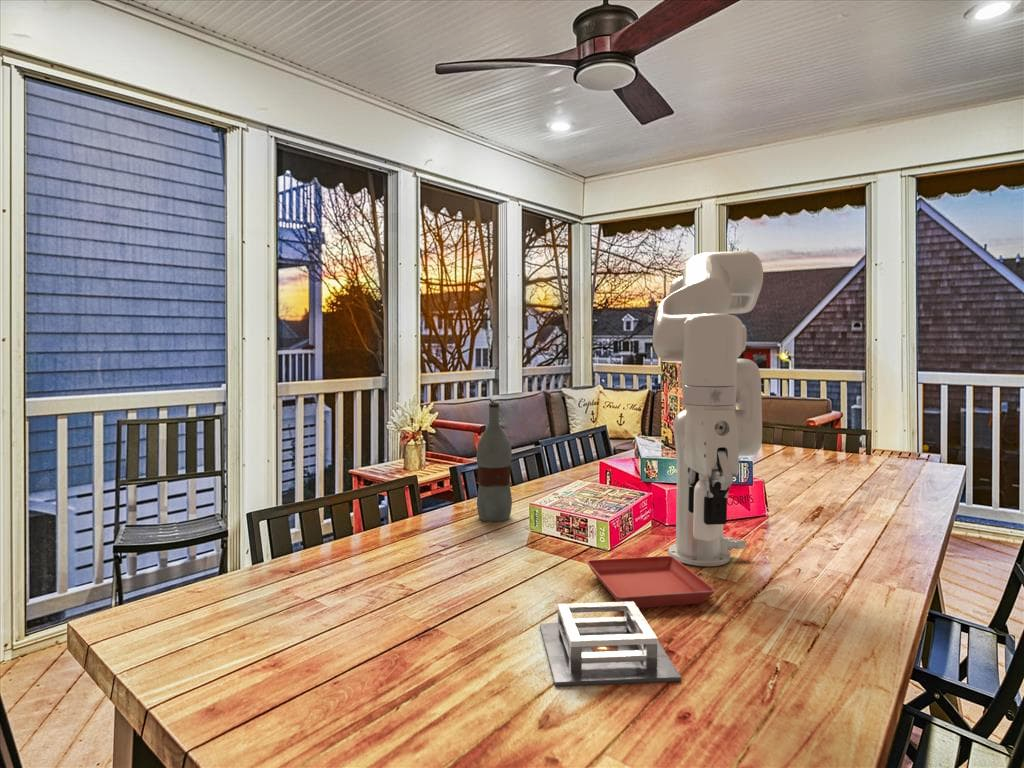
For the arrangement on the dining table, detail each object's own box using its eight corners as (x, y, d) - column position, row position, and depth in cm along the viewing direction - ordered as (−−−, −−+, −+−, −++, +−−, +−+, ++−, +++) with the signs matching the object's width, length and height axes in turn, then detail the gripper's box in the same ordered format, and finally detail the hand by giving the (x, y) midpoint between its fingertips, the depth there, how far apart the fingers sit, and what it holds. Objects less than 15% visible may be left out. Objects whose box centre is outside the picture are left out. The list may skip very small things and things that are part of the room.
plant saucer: (671, 570, 122) (671, 554, 122) (717, 608, 105) (717, 589, 104) (585, 576, 119) (585, 559, 119) (617, 617, 101) (617, 597, 101)
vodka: (496, 510, 165) (496, 400, 163) (519, 517, 159) (519, 403, 157) (469, 517, 159) (468, 403, 157) (492, 524, 152) (491, 405, 150)
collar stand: (644, 623, 98) (644, 594, 98) (681, 681, 81) (681, 646, 81) (539, 627, 97) (539, 597, 97) (555, 686, 80) (555, 651, 80)
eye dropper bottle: (681, 534, 92) (683, 456, 91) (709, 529, 95) (710, 453, 94) (703, 543, 88) (704, 461, 87) (731, 537, 91) (732, 457, 90)
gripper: (761, 403, 82) (758, 535, 83) (710, 392, 99) (708, 502, 100) (707, 403, 81) (704, 536, 82) (665, 392, 98) (663, 503, 99)
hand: (706, 516), depth 91 cm, fingers closed on eye dropper bottle, 5 cm apart
